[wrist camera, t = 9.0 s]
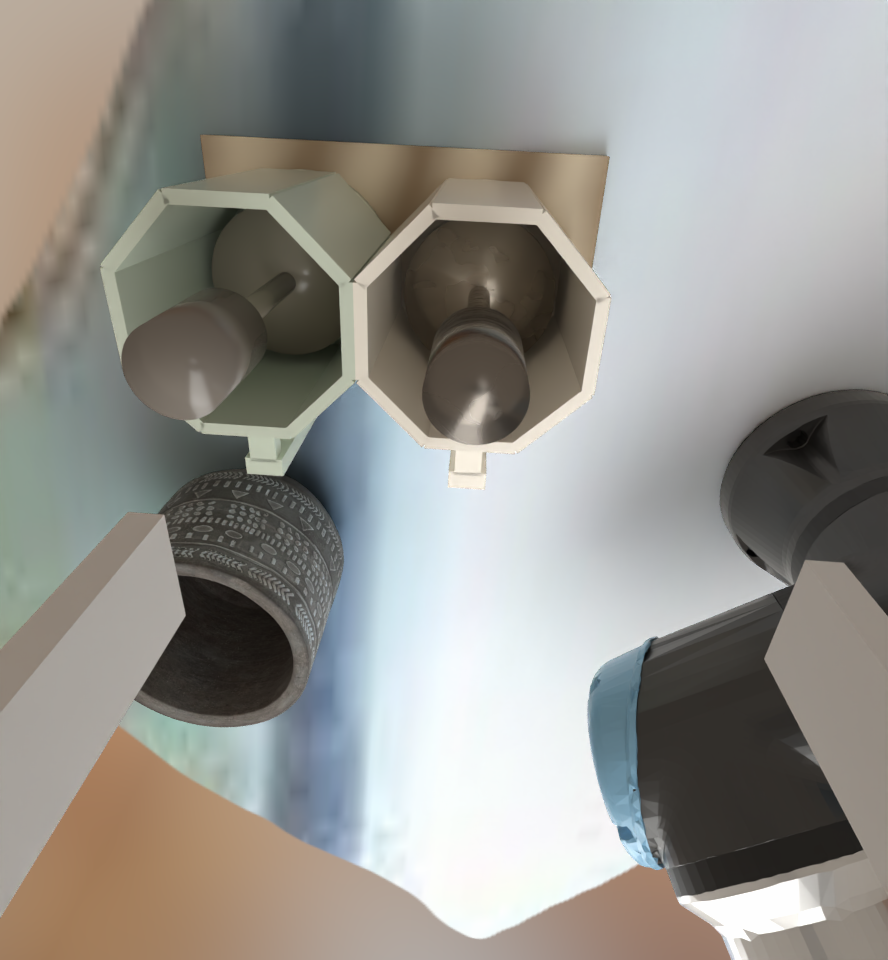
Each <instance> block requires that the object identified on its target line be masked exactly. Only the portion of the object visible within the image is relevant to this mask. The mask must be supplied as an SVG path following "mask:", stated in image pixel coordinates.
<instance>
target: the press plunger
mask: <svg viewBox="0 0 888 960" xmlns="http://www.w3.org/2000/svg"><path fill="white" fill-rule="evenodd" d="M555 292H556V290H555V279H554V274H553V270H552V267H551V264H550V261H549V259H548V257H547V255H546V253H545V251H544V249H543V247H542V246H541V244H540V243H539V242H538V240H537V239H536V238H535V237H534V236H533V235H532V234H531V233H530V232H529V231H528V230H527V229H525V228H524V227H523V226H521V225H520V224H510V223H493V222H475V221H457V220H449V221H447V222H445V223H443V224H442V225H440V226H439V227H437V228H436V229H435V230H433V231H432V232H431V233H430V234H429V235H428V236H427V237H426V238H425V239H424V240H423V242H422V243H421V244H420V246H419V247H418V249H417V250H416V252H415V254H414V256H413V258H412V260H411V262H410V264H409V267H408V270H407V273H406V278H405V283H404V303H405V309H406V313H407V316H408V320H409V322H410V324H411V327H412V329H413V331H414V332H415V334H416V335H417V337H418V338H419V340H420V341H421V342H422V343H423V345H424V346H425V347H426V348H427V349H429V350H430V351H431V353H430V358H429V362H428V366H427V370H426V375H425V379H424V383H423V388H422V402H423V407H424V410H425V413H426V415H427V417H428V419H429V420H430V422H431V423H432V425H433V426H434V427H435V428H436V429H437V430H438V431H439V432H440V433H441V434H443V435H444V436H446V437H447V438H449V439H451V440H453V441H456V442H458V443H462V444H467V445H485V444H490V443H493V442H496V441H499V440H501V439H503V438H505V437H506V436H508V435H509V434H511V433H512V432H513V431H514V430H515V429H516V428H517V427H518V426H519V425H520V423H521V422H522V420H523V419H524V417H525V415H526V413H527V410H528V407H529V402H530V387H529V381H528V375H527V369H526V363H525V357H524V353H526V352H527V351H528V350H529V349H530V348H531V347H532V346H533V345H534V344H535V343H536V342H537V341H538V340H539V338H540V337H541V336H542V334H543V332H544V331H545V329H546V327H547V325H548V323H549V321H550V318H551V315H552V312H553V308H554V303H555Z"/></svg>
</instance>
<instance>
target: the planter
mask: <svg viewBox="0 0 888 960" xmlns="http://www.w3.org/2000/svg"><path fill="white" fill-rule="evenodd" d="M158 514H162V515H164V516H165V520H166V525H167V530H168V535H169V539H170V544H171V549H172V553H173V558H174V563H175V567H176V572H177V577H178V581H179V586H180V591H181V595H182V600H183V605H184V609H185V614H186V616H185V617H184V619H183V621H182V622H181V624H180V625H179V627H178V629H177V630H176V632H175V634H174V635H173V637H172V639H171V640H170V642H169V643H168V645H167V647H166V648H165V650H164V652H163V653H162V655H161V656H160V658H159V660H158V661H157V663H156V665H155V666H154V668H153V670H152V671H151V673H150V674H149V676H148V678H147V679H146V681H145V683H144V684H143V686H142V687H141V689H140V691H139V692H138V694H137V696H136V697H135V699H134V700H135V701H137V702H139V703H140V704H142V705H144V706H146V707H147V708H149V709H151V710H154V711H156V712H158V713H160V714H163V715H165V716H168V717H171V718H173V719H177V720H180V721H184V722H187V723H192V724H197V725H203V726H211V727H239V726H246V725H252V724H257V723H261V722H264V721H267V720H270V719H272V718H274V717H276V716H278V715H280V714H282V713H283V712H285V711H286V710H287V709H289V708H290V707H291V706H292V705H293V704H294V703H295V702H296V701H297V700H298V698H299V697H300V696H301V694H302V692H303V691H304V689H305V686H306V684H307V681H308V678H309V675H310V671H311V668H312V665H313V662H314V659H315V656H316V653H317V650H318V647H319V644H320V641H321V637H322V634H323V631H324V628H325V625H326V622H327V618H328V615H329V612H330V609H331V606H332V604H333V601H334V598H335V595H336V592H337V589H338V586H339V583H340V579H341V575H342V571H343V563H344V555H343V547H342V543H341V539H340V536H339V533H338V531H337V529H336V527H335V525H334V523H333V521H332V519H331V517H330V516H329V514H328V513H327V511H326V510H325V508H324V507H323V505H322V504H321V503H320V502H319V500H318V499H317V498H316V497H315V496H314V495H313V494H312V493H311V492H310V491H309V490H308V489H307V488H306V487H304V486H303V485H302V484H300V483H299V482H297V481H296V480H294V479H292V478H290V477H288V476H285V475H284V476H273V475H258V474H247V470H246V469H230V470H222V471H216V472H212V473H208V474H205V475H202V476H200V477H198V478H195V479H193V480H192V481H190V482H188V483H187V484H185V485H184V486H183V487H182V488H180V489H179V490H178V491H177V492H176V493H175V494H174V495H173V497H172V498H171V499H170V500H169V501H168V502H167V503H166V504H165V505H164V507H163V508H162V509H161V510H160V512H159V513H158Z"/></svg>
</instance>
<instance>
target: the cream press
mask: <svg viewBox="0 0 888 960" xmlns="http://www.w3.org/2000/svg"><path fill="white" fill-rule="evenodd" d="M449 220H457V221H475V222H493V223H510V224H520V225H521V226H523V227H524V228H525V229H527V230H528V231H529V232H530V233H531V234H532V235H533V236H534V237H535V238H536V239H537V240H538V242H539V243H540V244H541V246H542V247H543V249H544V251H545V253H546V255H547V257H548V259H549V261H550V264H551V267H552V270H553V274H554V279H555V290H556V292H555V303H554V308H553V312H552V315H551V318H550V321H549V323H548V325H547V327H546V329H545V331H544V332H543V334H542V336H541V337H540V338H539V340H538V341H537V342H536V343H535V344H534V345H533V346H532V347H531V348H530V349H529V350H528V351H527V352H526V353H524V357H525V363H526V369H527V375H528V381H529V387H530V402H529V407H528V410H527V413H526V415H525V417H524V419H523V420H522V422H521V423H520V425H519V426H518V427H517V428H516V429H515V430H514V431H513V432H512V433H511V434H509V435H508V436H506V437H505V438H503V439H501V440H499V441H496V442H493V443H490V444H485V445H467V444H462V443H458V442H456V441H453V440H451V439H449V438H447V437H446V436H444V435H443V434H441V433H440V432H439V431H438V430H437V429H436V428H435V427H434V426H433V425H432V423H431V422H430V420H429V419H428V417H427V415H426V413H425V410H424V407H423V402H422V388H423V383H424V379H425V375H426V370H427V366H428V362H429V358H430V353H431V351H430V350H429V349H427V348H426V347H425V346H424V345H423V343H422V342H421V341H420V340H419V338H418V337H417V335H416V334H415V332H414V331H413V329H412V327H411V324H410V322H409V320H408V316H407V313H406V309H405V303H404V283H405V278H406V273H407V270H408V267H409V264H410V262H411V260H412V258H413V256H414V254H415V252H416V250H417V249H418V247H419V246H420V244H421V243H422V242H423V240H424V239H425V238H426V237H427V236H428V235H429V234H430V233H431V232H432V231H433V230H435V229H436V228H437V227H439V226H440V225H442V224H443V223H445V222H447V221H449ZM354 280H355V281H354V282H353V311H354V346H355V380H358V381H357V384H358V385H359V386H360V387H361V388H362V389H363V390H364V391H365V392H366V393H367V394H368V395H369V396H370V397H371V398H372V399H373V400H374V401H375V402H376V403H377V404H378V405H379V406H381V407H382V408H383V409H384V410H385V411H386V412H387V413H388V414H389V415H390V416H391V417H392V418H393V419H394V420H395V421H396V422H397V423H398V424H399V425H400V426H401V427H402V428H403V429H404V430H405V431H406V432H407V433H408V434H409V435H410V436H411V437H412V438H413V439H414V440H415V441H416V442H417V443H418V444H419V445H420V446H421V447H423V446H424V445H425V447H424V448H427V449H442V450H451V455H450V464H449V476H448V487H450V488H465V489H480V490H485V482H486V452H488V453H503V454H515V451H516V452H517V453H519V452H520V451H522V450H523V449H524V448H526V447H527V446H528V445H530V444H531V443H532V442H534V441H535V440H537V439H538V438H539V437H541V436H542V435H543V434H545V433H546V432H547V431H549V430H550V429H551V428H553V427H554V426H555V425H557V424H558V423H559V422H561V421H562V420H563V419H565V418H566V417H567V416H569V415H570V414H572V413H573V412H574V411H576V410H577V409H578V408H580V407H581V406H582V405H584V404H585V403H586V402H588V401H589V400H590V399H592V395H594V393H595V388H596V382H597V376H598V371H599V365H600V359H601V354H602V348H603V342H604V337H605V331H606V326H607V320H608V314H609V309H610V303H611V297H610V295H611V294H610V293H609V292H608V290H607V289H606V288H605V286H604V285H603V283H602V282H601V281H600V279H599V278H598V277H597V275H596V274H595V273H594V271H593V270H592V268H591V267H590V266H589V264H588V263H587V262H586V260H585V259H584V258H583V256H582V255H581V253H580V252H579V251H578V249H577V248H576V247H575V245H574V244H573V243H572V241H571V240H570V239H569V237H568V236H567V235H566V233H565V232H564V231H563V230H562V228H561V227H560V226H559V224H558V223H557V222H556V220H555V219H554V218H553V217H552V215H551V214H550V213H549V211H548V210H547V209H546V207H545V206H544V205H543V204H542V202H541V201H540V200H539V198H538V197H537V196H536V194H535V193H534V192H533V191H532V189H531V188H530V187H529V185H528V184H526V183H525V182H511V181H499V180H492V179H456V178H449V179H448V180H447V179H446V180H445V181H444V182H443V183H442V184H441V185H440V186H439V187H438V188H437V189H436V190H435V191H434V192H433V193H432V194H431V195H430V196H429V197H428V198H427V199H426V200H425V201H424V202H423V203H422V204H421V205H420V206H419V207H418V208H417V209H416V210H415V211H414V212H413V213H412V214H411V215H410V216H409V217H408V218H407V219H406V220H405V221H404V222H403V223H402V224H401V225H400V226H399V227H398V228H397V229H396V230H395V231H394V232H393V233H392V235H391V236H390V237H389V238H388V239H387V241H386V242H385V243H384V244H383V245H382V247H381V248H380V249H379V250H378V251H377V253H376V254H375V255H374V256H373V257H372V258H371V260H370V261H369V262H368V263H367V264H366V266H365V267H364V268H363V269H362V270H361V272H360V273H359V274H358V275H357V276H356V278H355V279H354Z"/></svg>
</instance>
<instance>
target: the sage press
mask: <svg viewBox="0 0 888 960" xmlns="http://www.w3.org/2000/svg"><path fill="white" fill-rule="evenodd" d="M390 234H391V232H390V231H389V230H388V229H387V228H386V226H385V225H384V224H383V223H382V221H381V220H380V218H379V216H378V215H377V213H376V211H375V210H374V209H373V208H372V206H371V205H370V204H369V202H368V201H367V200H366V199H365V198H364V197H363V196H362V195H361V194H360V193H359V192H357V191H356V190H355V189H353V188H352V187H351V186H350V185H348V184H347V182H346V181H345V180H344V179H343V178H342V177H341V176H340V174H339V173H337V174H336V172H327V171H315V170H308V169H271V168H259V169H254V170H249V171H244V172H239V173H234V174H229V175H224V176H219V177H214V178H209V179H204V180H199V181H193V182H188V183H183V184H178V185H173V186H168V187H163V188H161V189H158V190H157V191H156V192H155V194H154V195H153V196H152V198H151V199H150V200H149V202H148V203H147V204H146V206H145V207H144V208H143V209H142V211H141V212H140V213H139V215H138V216H137V217H136V219H135V220H134V221H133V223H132V224H131V225H130V226H129V228H128V229H127V230H126V232H125V233H124V234H123V236H122V237H121V238H120V239H119V241H118V242H117V243H116V245H115V246H114V247H113V249H112V250H111V251H110V253H109V254H108V255H107V256H106V258H105V259H104V260H103V262H102V263H101V264H100V265H101V266H102V267H101V268H100V271H101V275H102V280H103V284H104V289H105V293H106V298H107V302H108V307H109V311H110V316H111V320H112V325H113V329H114V333H115V338H116V342H117V347H118V351H119V356H120V360H121V365H122V369H123V373H124V376H125V378H126V381H127V383H128V385H129V386H130V388H131V389H132V391H133V392H134V394H135V395H136V396H137V397H138V398H139V399H140V400H141V401H142V402H143V403H144V404H145V405H146V406H148V407H149V408H150V409H152V410H154V411H155V412H157V413H159V414H161V415H163V416H166V417H169V418H173V419H178V420H185V421H186V422H187V423H188V424H190V425H191V426H192V427H193V428H194V429H195V430H197V431H198V432H200V431H202V434H215V435H230V436H245V437H248V442H249V450H250V451H249V453H248V454H247V455H246V457H245V462H246V470H247V474H258V475H273V476H284V474H285V472H286V471H287V469H288V467H289V465H290V464H291V462H292V460H293V458H294V457H295V455H296V453H297V451H298V450H299V448H300V446H301V444H302V443H303V441H304V439H305V437H306V436H307V434H308V432H309V430H310V429H311V427H312V425H313V423H314V422H315V420H316V418H317V416H319V415H320V414H321V413H322V412H323V411H324V410H325V409H326V408H327V407H328V406H330V405H331V404H332V403H333V402H334V401H335V400H336V399H337V398H338V397H339V396H340V395H342V394H343V393H344V392H345V391H346V390H347V389H348V388H349V387H350V386H351V385H353V384H354V383H355V381H356V380H355V346H354V311H353V282H354V281H355V280H354V279H355V278H356V276H357V275H358V274H359V273H360V272H361V270H362V269H363V268H364V267H365V266H366V264H367V263H368V262H369V261H370V260H371V258H372V257H373V256H374V255H375V254H376V253H377V251H378V250H379V249H380V248H381V247H382V245H383V244H384V243H385V242H386V241H387V239H388V238H389V237H390V236H391V235H390Z"/></svg>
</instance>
